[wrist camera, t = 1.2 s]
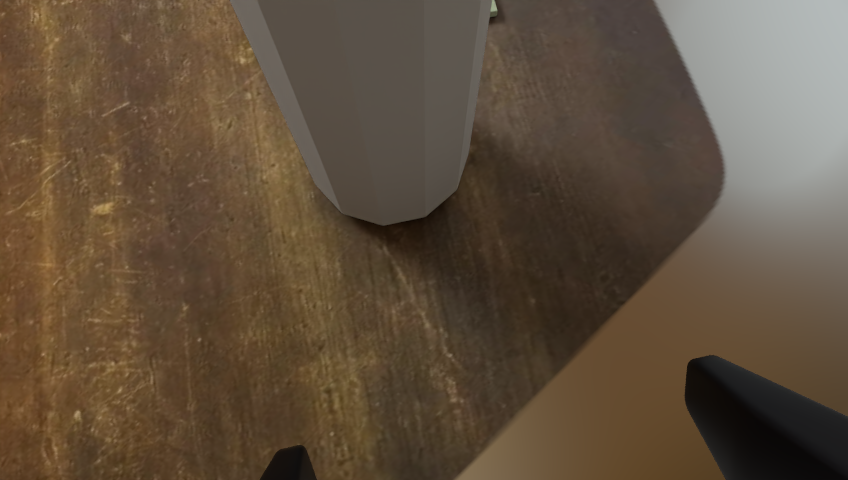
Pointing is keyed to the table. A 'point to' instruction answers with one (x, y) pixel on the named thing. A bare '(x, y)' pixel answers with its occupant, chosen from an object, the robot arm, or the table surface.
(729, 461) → the robot arm
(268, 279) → the table surface
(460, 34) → the water bottle
